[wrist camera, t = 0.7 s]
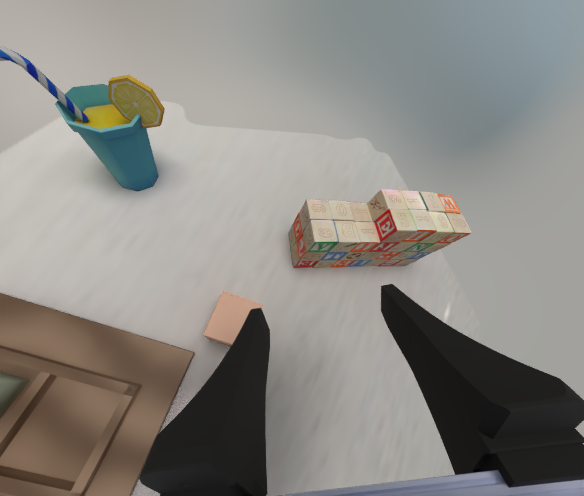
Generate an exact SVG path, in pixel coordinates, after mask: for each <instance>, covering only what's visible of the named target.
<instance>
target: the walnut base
mask: <svg viewBox="0 0 584 496" xmlns="http://www.w3.org/2000/svg"><path fill="white" fill-rule="evenodd" d="M193 356H194V352H191V351H188V350H184V349H181V348H178V347H175V346H171V345H168V344H165V343H162V342H158V341H155V340H152V339H148V338H145V337H142V336H139V335H135V334H132V333H129V332H125V331H122V330H119V329H116V328H112V327H109V326H106V325H103V324H99V323H96V322H93V321H89V320H86V319H83V318H80V317H76V316H73V315H70V314H67V313H63V312H60V311H57V310H53V309H50V308H47V307H44V306H40V305H37V304H34V303H30V302H27V301H24V300H21V299H17V298H14V297H11V296H8V295H4V294H1V293H0V496H131V494H132V492H133V490H134V487H135V485H136V483H137V481H138V479H139V476H140V474H141V472H142V470H143V467H144V465H145V462H146V460H147V457H148V454H149V452H150V449H151V447H152V445H153V442H154V440H155V438H156V436H157V435H158V434H159V432H160V429H161V427H162V425H163V423H164V420H165V418H166V416H167V414H168V411H169V409H170V407H171V405H172V402H173V400H174V398H175V396H176V394H177V391H178V389H179V387H180V385H181V382H182V380H183V378H184V376H185V373H186V371H187V369H188V367H189V364H190V362H191V360H192V358H193Z"/></svg>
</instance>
